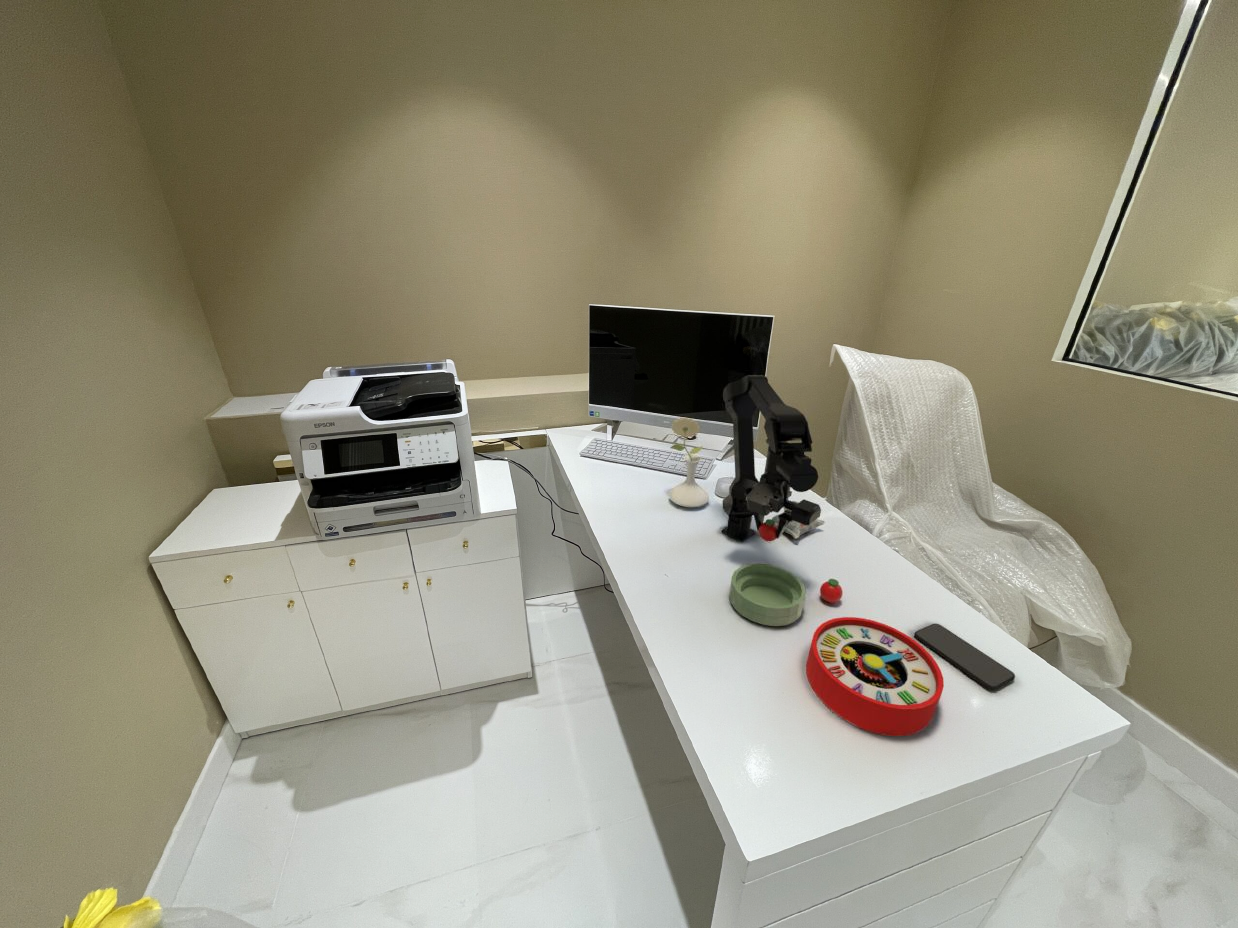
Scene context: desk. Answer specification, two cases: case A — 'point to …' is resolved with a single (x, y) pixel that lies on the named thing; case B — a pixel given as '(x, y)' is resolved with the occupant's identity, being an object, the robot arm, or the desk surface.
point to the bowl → (767, 594)
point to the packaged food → (798, 526)
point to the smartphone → (965, 656)
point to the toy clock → (874, 676)
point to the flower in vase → (688, 468)
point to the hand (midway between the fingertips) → (768, 533)
